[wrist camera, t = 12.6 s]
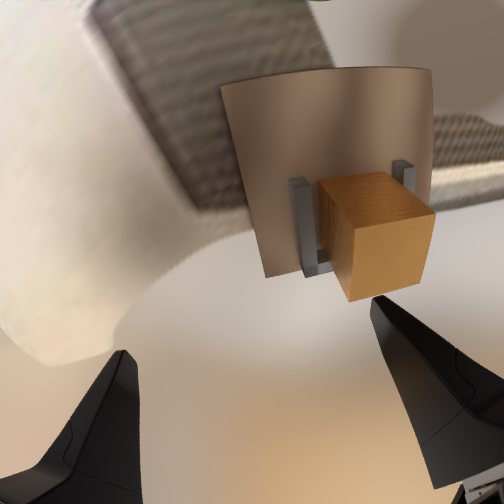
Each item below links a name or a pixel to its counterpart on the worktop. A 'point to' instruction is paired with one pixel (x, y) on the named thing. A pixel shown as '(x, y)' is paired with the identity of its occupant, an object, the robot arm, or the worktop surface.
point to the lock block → (373, 233)
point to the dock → (324, 147)
